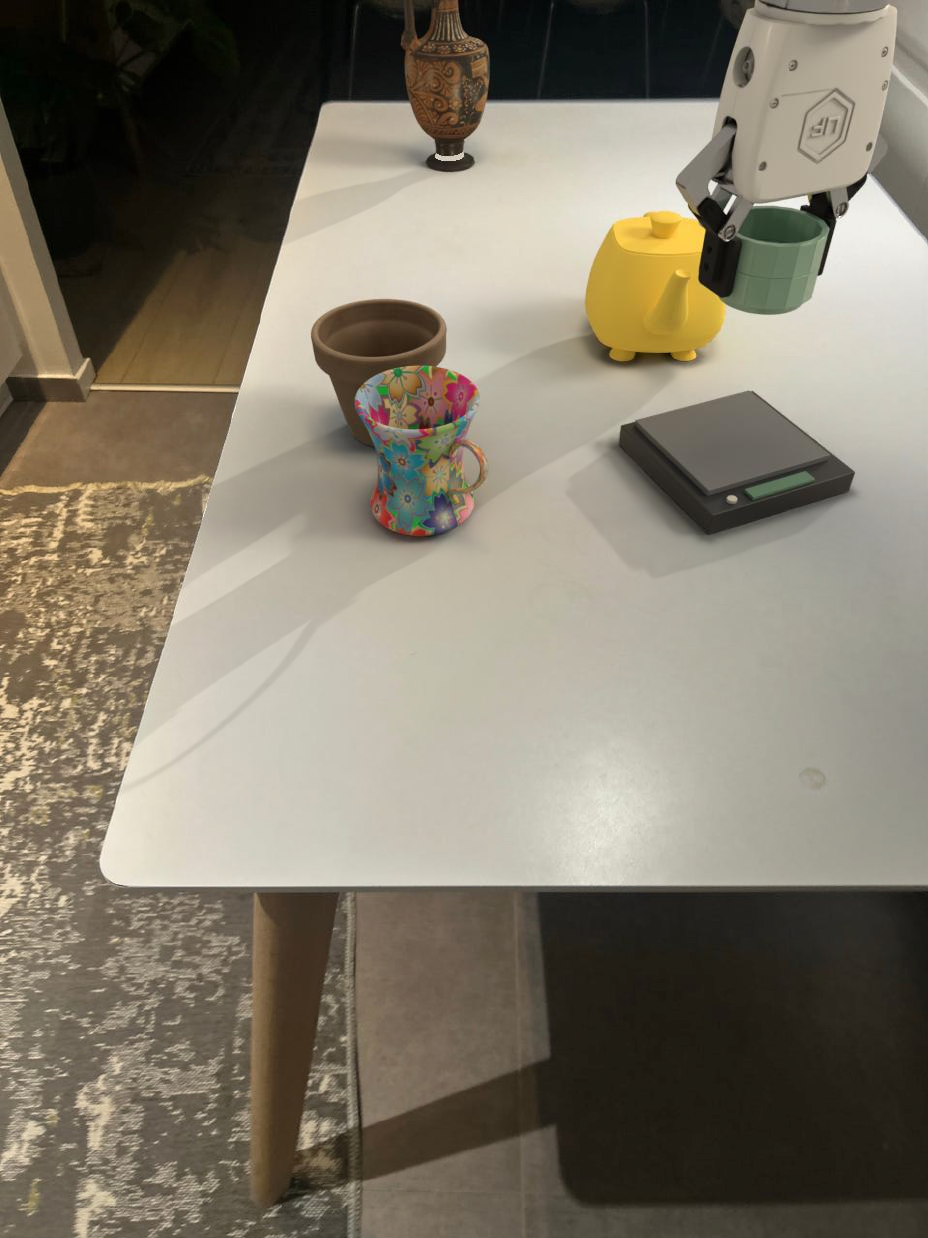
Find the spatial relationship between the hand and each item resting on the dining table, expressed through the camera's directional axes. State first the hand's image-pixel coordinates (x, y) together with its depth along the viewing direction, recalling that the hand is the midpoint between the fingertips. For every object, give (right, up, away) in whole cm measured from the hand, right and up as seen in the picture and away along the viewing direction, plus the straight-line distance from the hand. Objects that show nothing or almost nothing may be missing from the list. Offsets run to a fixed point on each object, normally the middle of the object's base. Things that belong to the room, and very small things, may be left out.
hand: (760, 277), depth 66 cm
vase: (-24, +42, +68) cm, 84 cm away
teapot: (-2, +4, +29) cm, 29 cm away
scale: (+2, -11, +14) cm, 18 cm away
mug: (-24, -16, +9) cm, 30 cm away
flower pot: (-28, -7, +19) cm, 35 cm away
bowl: (0, -1, +1) cm, 1 cm away
